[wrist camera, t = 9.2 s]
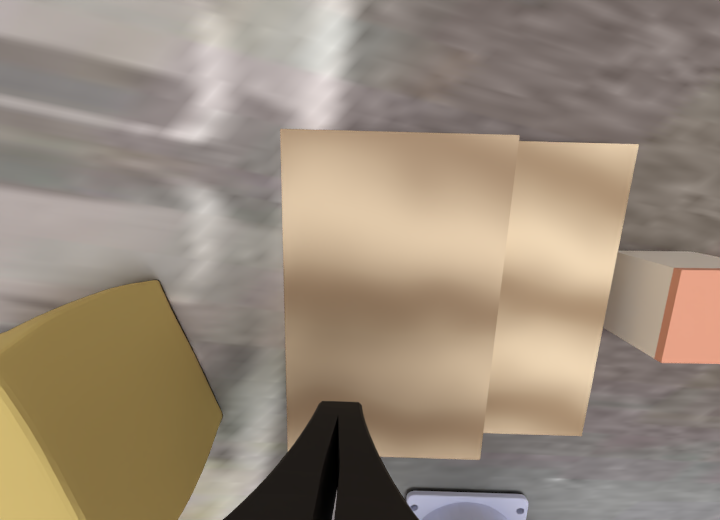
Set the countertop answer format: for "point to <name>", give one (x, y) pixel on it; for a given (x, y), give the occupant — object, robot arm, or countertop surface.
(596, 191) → the step
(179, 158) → the countertop surface
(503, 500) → the robot arm
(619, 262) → the white cube
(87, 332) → the cheese
